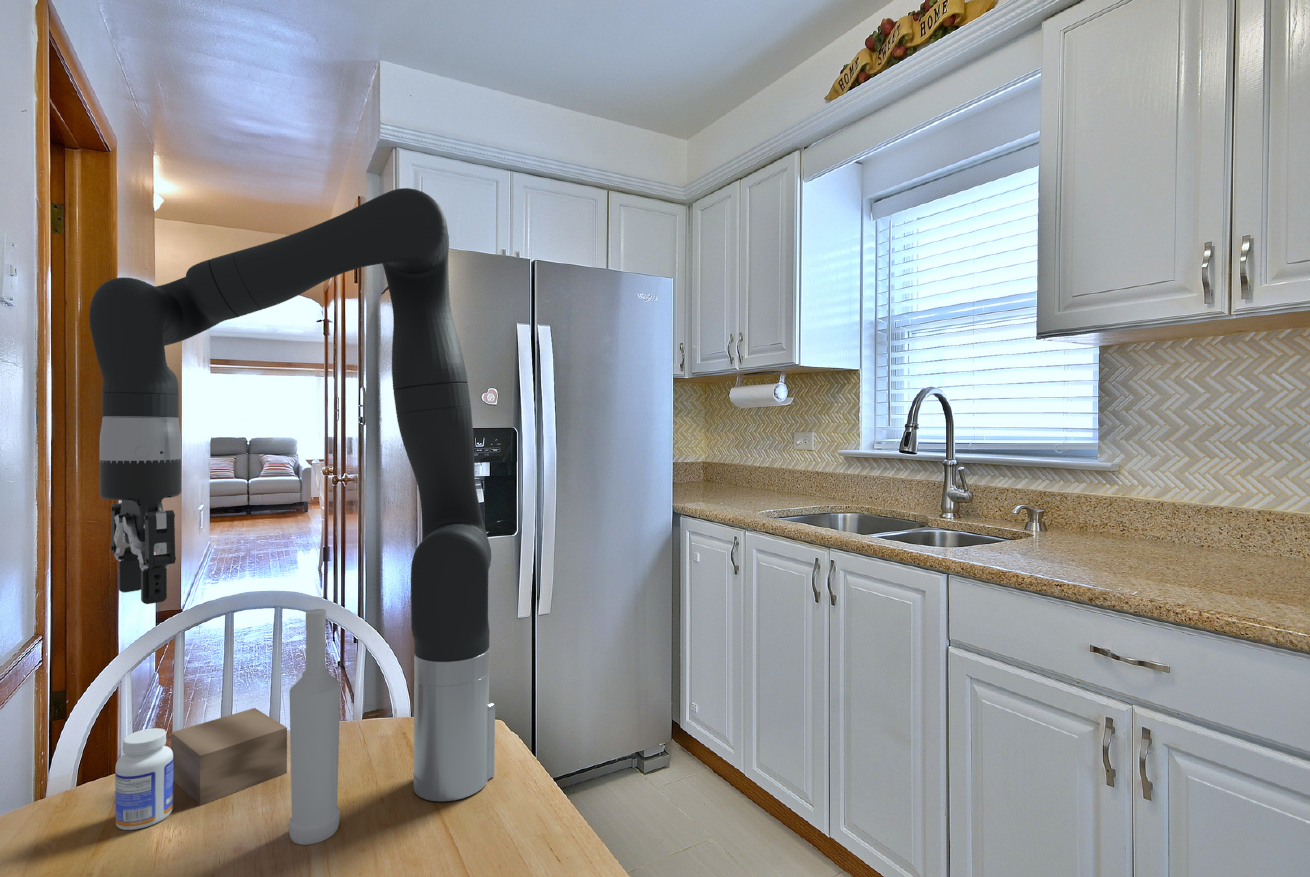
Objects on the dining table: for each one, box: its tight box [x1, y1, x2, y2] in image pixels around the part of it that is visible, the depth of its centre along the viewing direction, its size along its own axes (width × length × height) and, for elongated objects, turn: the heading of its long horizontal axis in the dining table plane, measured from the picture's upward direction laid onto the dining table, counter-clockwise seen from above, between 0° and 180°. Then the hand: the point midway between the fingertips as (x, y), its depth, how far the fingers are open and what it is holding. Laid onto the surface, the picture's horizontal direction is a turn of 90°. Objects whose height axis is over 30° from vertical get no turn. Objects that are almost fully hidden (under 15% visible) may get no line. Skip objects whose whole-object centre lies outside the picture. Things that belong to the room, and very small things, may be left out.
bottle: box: [288, 608, 341, 846], centre depth 76 cm, size 5×5×25 cm
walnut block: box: [170, 707, 288, 806], centre depth 89 cm, size 10×10×6 cm
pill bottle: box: [114, 727, 174, 831], centre depth 79 cm, size 5×5×10 cm
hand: (141, 596), depth 78 cm, fingers open, 8 cm apart
